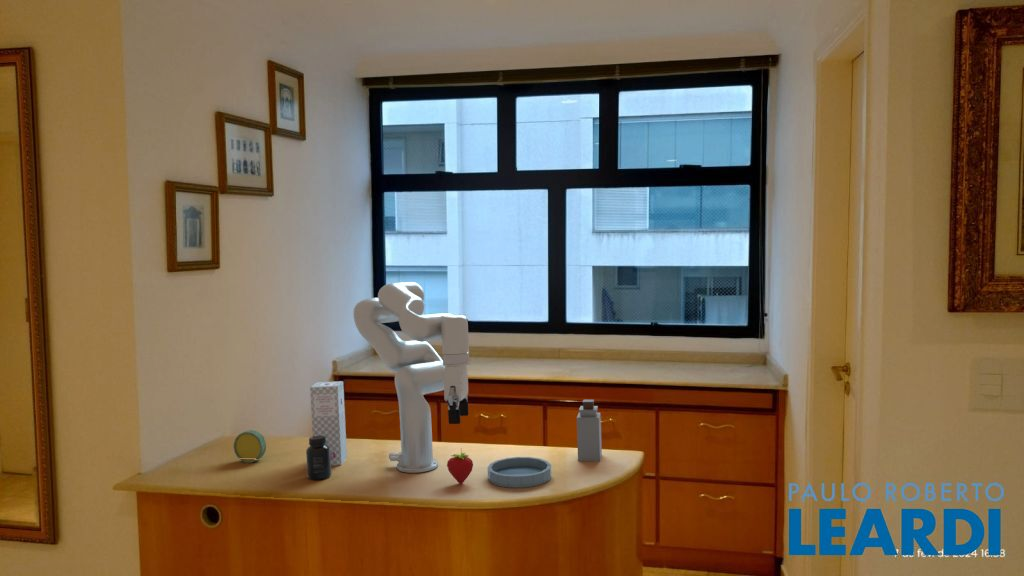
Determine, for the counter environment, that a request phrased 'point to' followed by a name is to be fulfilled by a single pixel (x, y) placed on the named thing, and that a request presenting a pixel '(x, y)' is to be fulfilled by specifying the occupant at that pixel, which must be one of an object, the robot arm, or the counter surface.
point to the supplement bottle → (318, 458)
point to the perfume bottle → (589, 432)
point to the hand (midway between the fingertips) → (458, 419)
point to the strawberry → (460, 467)
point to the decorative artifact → (249, 446)
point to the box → (330, 417)
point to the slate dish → (519, 472)
